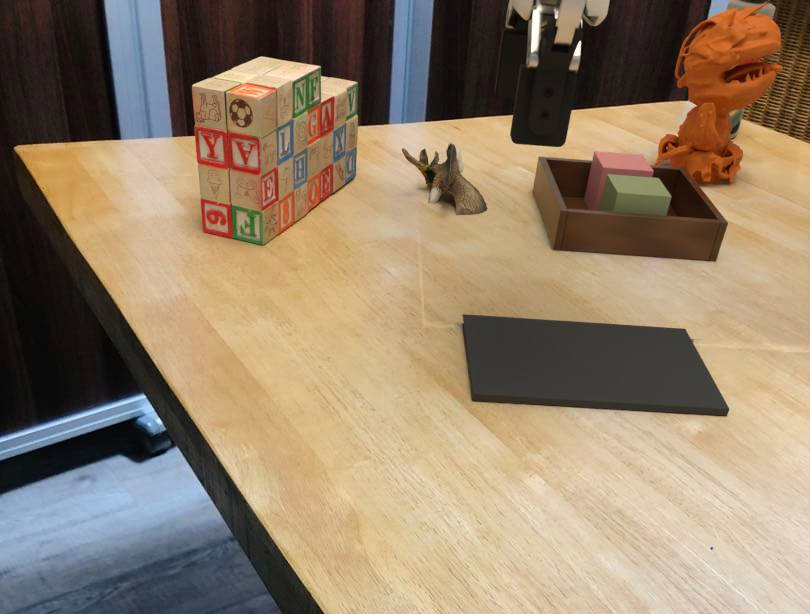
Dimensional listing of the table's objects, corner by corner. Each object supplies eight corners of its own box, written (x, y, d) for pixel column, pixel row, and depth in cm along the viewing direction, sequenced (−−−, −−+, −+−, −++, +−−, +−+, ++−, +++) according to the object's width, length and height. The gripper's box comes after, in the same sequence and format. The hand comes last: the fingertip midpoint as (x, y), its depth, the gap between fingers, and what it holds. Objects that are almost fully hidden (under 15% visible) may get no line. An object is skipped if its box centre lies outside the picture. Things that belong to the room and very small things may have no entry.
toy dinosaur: (742, 203, 95) (803, 15, 84) (643, 184, 97) (690, -1, 86) (745, 173, 103) (801, -1, 92) (654, 157, 106) (698, -15, 94)
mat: (683, 335, 69) (685, 328, 69) (727, 416, 60) (730, 408, 60) (461, 320, 68) (462, 313, 68) (472, 401, 59) (473, 393, 59)
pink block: (630, 204, 90) (642, 154, 87) (641, 222, 87) (654, 170, 83) (583, 201, 90) (594, 150, 87) (592, 218, 86) (603, 166, 83)
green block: (645, 230, 85) (659, 177, 82) (657, 250, 81) (671, 196, 78) (595, 226, 85) (607, 173, 82) (605, 246, 81) (617, 192, 78)
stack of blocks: (303, 166, 93) (303, 37, 85) (357, 177, 92) (362, 47, 84) (201, 232, 78) (189, 82, 70) (264, 246, 76) (259, 95, 68)
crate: (673, 208, 92) (684, 167, 90) (714, 267, 81) (728, 222, 78) (531, 197, 91) (538, 156, 89) (551, 256, 80) (560, 210, 77)
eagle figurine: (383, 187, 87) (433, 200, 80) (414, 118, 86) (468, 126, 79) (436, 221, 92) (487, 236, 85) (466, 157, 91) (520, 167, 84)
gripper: (706, -249, 37) (612, 170, 48) (622, -237, 50) (564, 89, 61) (531, -267, 36) (477, 160, 47) (493, -250, 49) (458, 81, 60)
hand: (526, 120), depth 54 cm, fingers open, 9 cm apart
